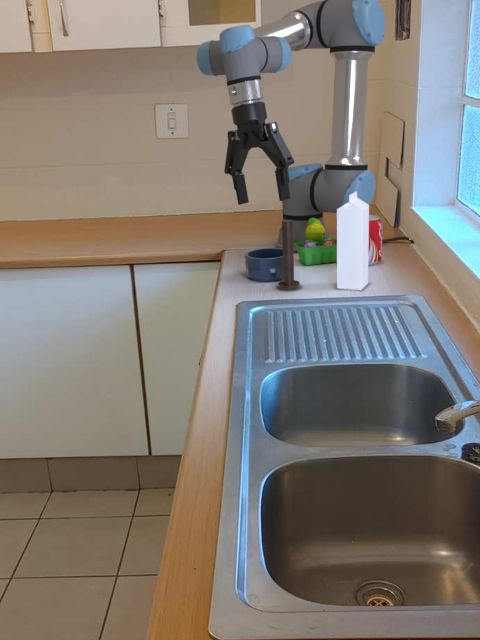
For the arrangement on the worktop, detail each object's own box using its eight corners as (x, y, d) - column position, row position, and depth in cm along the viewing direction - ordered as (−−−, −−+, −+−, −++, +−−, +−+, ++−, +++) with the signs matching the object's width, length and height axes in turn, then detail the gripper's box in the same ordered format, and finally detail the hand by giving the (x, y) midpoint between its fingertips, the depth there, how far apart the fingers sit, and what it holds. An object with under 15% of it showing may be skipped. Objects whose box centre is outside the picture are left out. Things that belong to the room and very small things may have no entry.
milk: (336, 289, 179) (335, 195, 170) (344, 281, 184) (343, 190, 175) (361, 290, 176) (362, 195, 168) (368, 283, 181) (369, 190, 173)
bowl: (281, 268, 199) (280, 245, 196) (297, 278, 189) (297, 255, 186) (240, 273, 196) (239, 251, 194) (254, 284, 186) (253, 261, 183)
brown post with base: (295, 283, 185) (293, 217, 179) (302, 288, 180) (301, 221, 174) (275, 286, 184) (272, 220, 177) (282, 291, 179) (280, 224, 173)
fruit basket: (303, 267, 198) (302, 224, 194) (292, 259, 206) (291, 218, 202) (343, 262, 201) (343, 220, 196) (332, 255, 209) (331, 214, 204)
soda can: (379, 266, 195) (380, 220, 190) (352, 265, 197) (352, 219, 193) (383, 259, 201) (384, 214, 196) (357, 258, 203) (358, 214, 199)
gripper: (198, 114, 171) (215, 208, 177) (275, 95, 152) (291, 201, 158) (223, 110, 175) (239, 202, 181) (300, 92, 156) (315, 194, 163)
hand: (263, 202), depth 170 cm, fingers open, 13 cm apart
